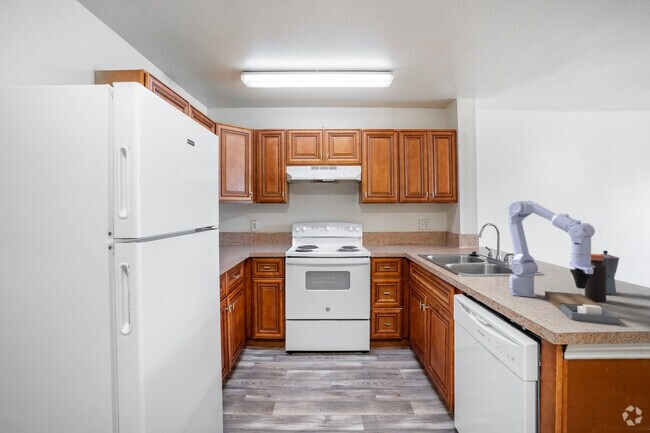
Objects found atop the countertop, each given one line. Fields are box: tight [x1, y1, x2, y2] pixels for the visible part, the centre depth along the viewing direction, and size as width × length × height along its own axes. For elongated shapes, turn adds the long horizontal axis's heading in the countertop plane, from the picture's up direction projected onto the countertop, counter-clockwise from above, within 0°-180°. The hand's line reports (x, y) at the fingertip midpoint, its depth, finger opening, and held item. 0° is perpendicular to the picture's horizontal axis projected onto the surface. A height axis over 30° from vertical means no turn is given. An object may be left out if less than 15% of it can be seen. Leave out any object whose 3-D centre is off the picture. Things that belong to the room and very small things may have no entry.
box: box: [560, 304, 620, 326], centre depth 104 cm, size 13×10×3 cm
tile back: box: [577, 306, 583, 313], centre depth 105 cm, size 4×4×2 cm
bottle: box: [584, 253, 607, 303], centre depth 123 cm, size 7×7×20 cm
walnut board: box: [544, 290, 604, 311], centre depth 117 cm, size 13×17×3 cm
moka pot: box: [600, 250, 620, 296], centre depth 133 cm, size 10×15×20 cm, turn 107°
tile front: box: [583, 304, 602, 315], centre depth 102 cm, size 4×4×2 cm
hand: (580, 288), depth 111 cm, fingers closed
